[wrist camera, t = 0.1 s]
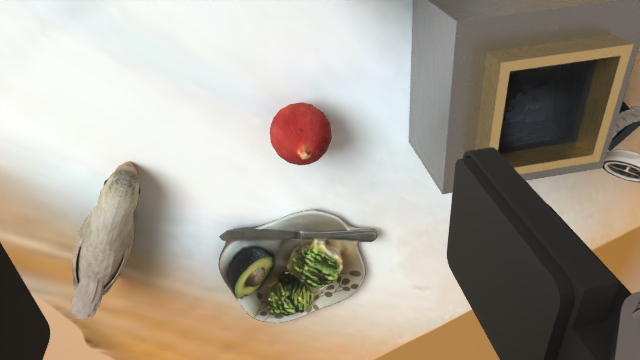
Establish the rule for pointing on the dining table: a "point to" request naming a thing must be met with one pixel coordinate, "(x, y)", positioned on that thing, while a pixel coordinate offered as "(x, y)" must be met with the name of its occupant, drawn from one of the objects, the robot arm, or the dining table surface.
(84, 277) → the decorative bird
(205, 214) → the dining table surface
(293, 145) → the onion
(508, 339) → the robot arm
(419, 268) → the dining table surface
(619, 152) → the watch
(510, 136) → the housing
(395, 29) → the dining table surface
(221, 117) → the dining table surface
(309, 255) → the salad plate
